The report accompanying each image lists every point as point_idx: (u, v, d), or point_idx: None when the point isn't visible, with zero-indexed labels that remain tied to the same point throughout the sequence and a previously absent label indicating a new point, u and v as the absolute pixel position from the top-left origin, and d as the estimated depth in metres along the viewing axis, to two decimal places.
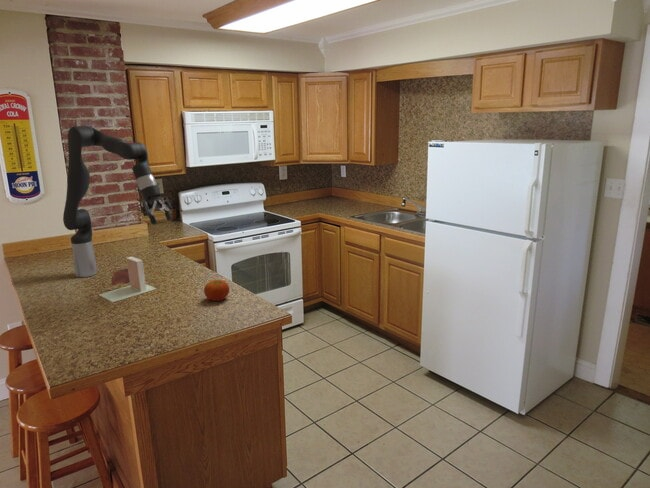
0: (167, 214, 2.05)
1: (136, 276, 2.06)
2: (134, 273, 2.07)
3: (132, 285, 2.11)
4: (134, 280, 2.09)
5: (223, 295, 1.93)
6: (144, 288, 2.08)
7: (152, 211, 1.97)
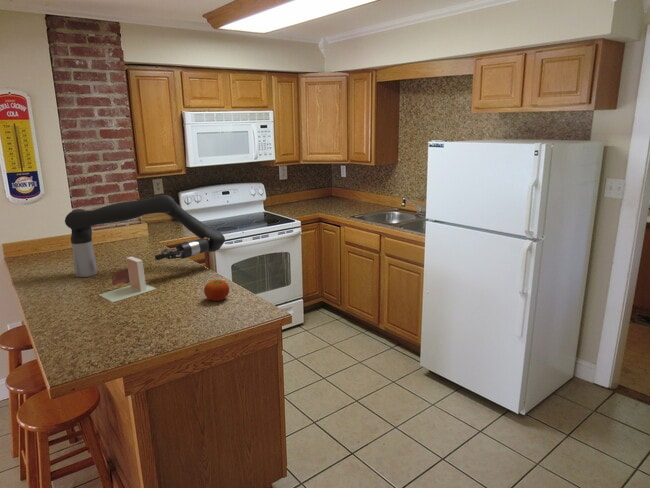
0: None
1: (136, 276, 2.06)
2: (134, 273, 2.07)
3: (132, 285, 2.11)
4: (134, 280, 2.09)
5: (223, 295, 1.93)
6: (144, 288, 2.08)
7: None
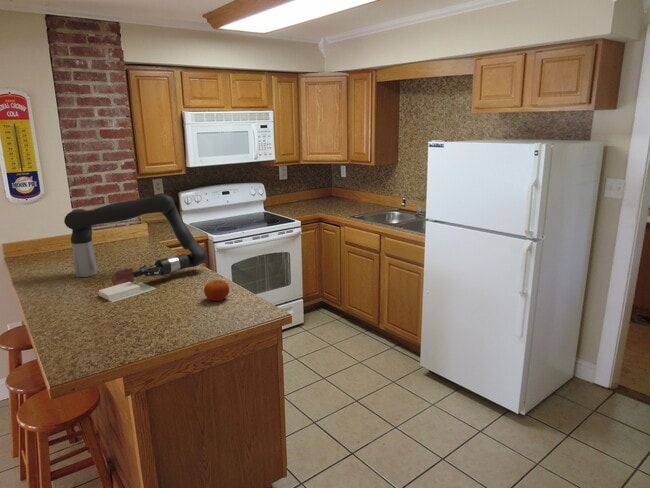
0: None
1: None
2: None
3: None
4: None
5: (223, 295, 1.93)
6: (138, 288, 2.05)
7: None
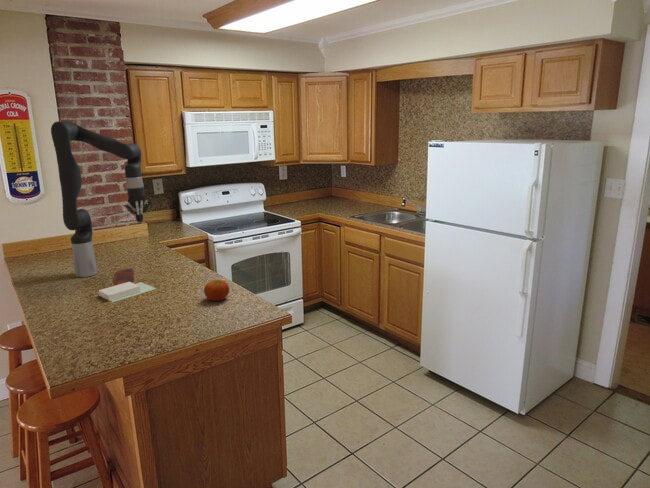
0: None
1: None
2: None
3: None
4: None
5: (223, 295, 1.93)
6: (138, 288, 2.05)
7: (137, 211, 2.22)
